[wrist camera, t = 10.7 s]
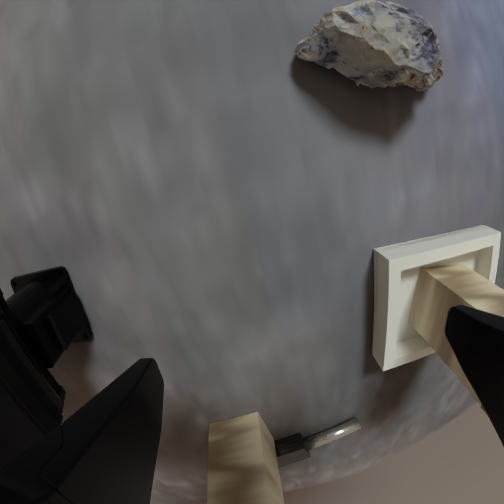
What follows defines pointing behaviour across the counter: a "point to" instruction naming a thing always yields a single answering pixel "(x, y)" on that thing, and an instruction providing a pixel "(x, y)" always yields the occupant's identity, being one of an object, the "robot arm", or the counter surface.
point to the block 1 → (242, 463)
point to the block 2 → (443, 298)
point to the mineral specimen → (376, 45)
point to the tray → (405, 282)
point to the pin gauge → (310, 442)
